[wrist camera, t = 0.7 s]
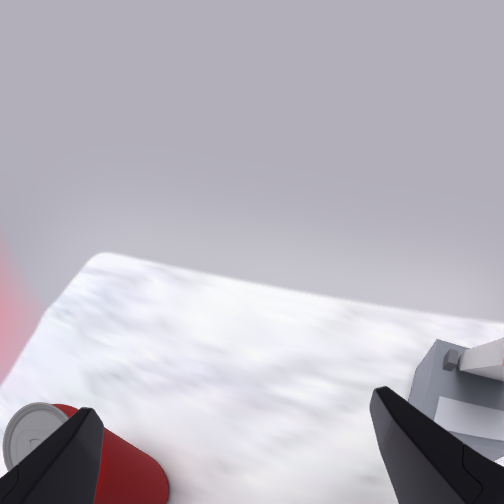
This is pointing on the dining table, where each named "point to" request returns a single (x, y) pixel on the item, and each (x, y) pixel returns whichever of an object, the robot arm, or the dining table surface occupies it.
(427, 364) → the switch box
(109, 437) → the beverage can
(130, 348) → the dining table surface
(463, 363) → the lever
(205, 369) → the dining table surface
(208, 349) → the dining table surface
